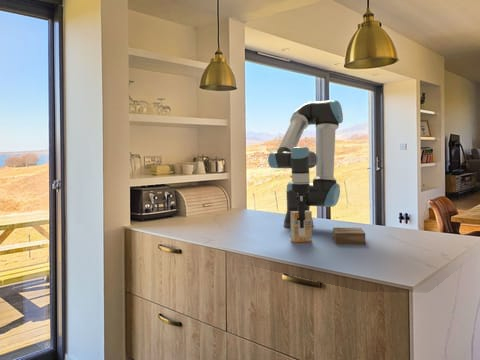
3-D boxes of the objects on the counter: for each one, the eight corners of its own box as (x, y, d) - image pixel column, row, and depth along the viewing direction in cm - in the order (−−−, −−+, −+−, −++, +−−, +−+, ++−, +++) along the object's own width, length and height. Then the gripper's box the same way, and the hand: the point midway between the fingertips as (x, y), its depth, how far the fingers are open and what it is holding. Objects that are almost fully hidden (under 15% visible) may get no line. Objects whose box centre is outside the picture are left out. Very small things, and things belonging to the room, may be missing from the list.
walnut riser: (333, 238, 180) (333, 227, 179) (361, 238, 178) (361, 227, 177) (335, 245, 168) (335, 233, 167) (365, 245, 166) (365, 233, 166)
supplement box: (294, 243, 172) (293, 212, 171) (290, 240, 176) (290, 210, 175) (312, 241, 173) (312, 211, 172) (308, 239, 178) (308, 209, 177)
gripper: (291, 181, 186) (291, 226, 187) (292, 185, 161) (293, 238, 163) (307, 180, 185) (308, 226, 186) (311, 185, 160) (311, 238, 162)
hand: (301, 232), depth 175 cm, fingers open, 13 cm apart
